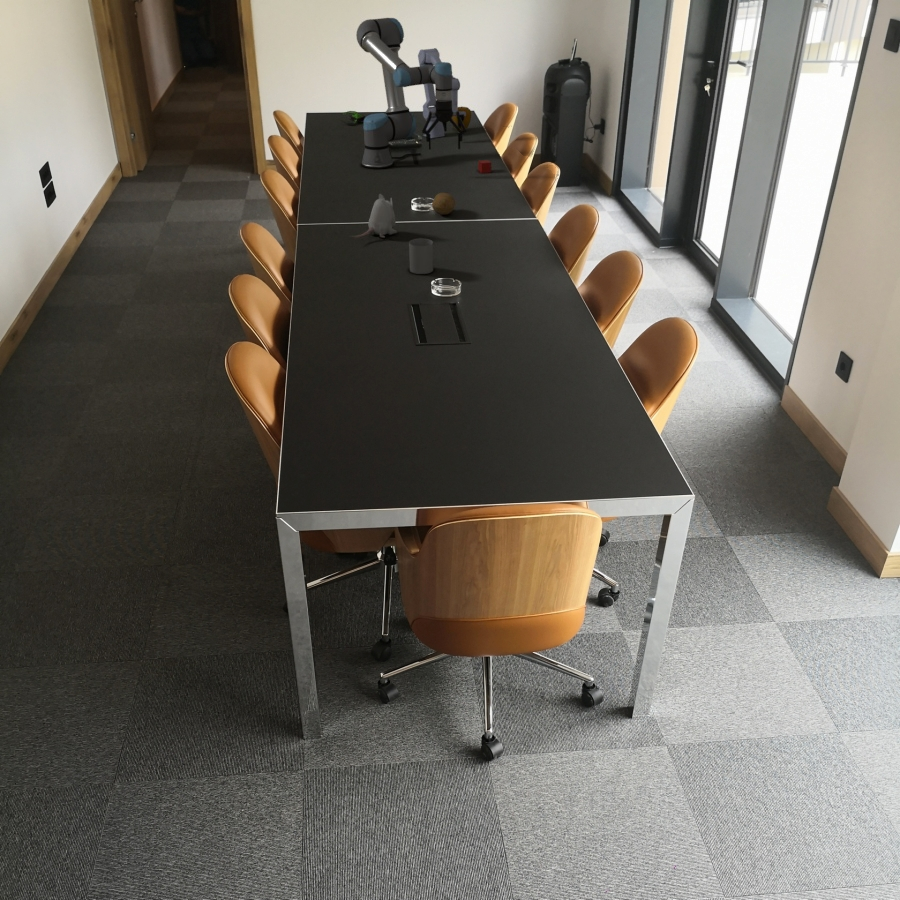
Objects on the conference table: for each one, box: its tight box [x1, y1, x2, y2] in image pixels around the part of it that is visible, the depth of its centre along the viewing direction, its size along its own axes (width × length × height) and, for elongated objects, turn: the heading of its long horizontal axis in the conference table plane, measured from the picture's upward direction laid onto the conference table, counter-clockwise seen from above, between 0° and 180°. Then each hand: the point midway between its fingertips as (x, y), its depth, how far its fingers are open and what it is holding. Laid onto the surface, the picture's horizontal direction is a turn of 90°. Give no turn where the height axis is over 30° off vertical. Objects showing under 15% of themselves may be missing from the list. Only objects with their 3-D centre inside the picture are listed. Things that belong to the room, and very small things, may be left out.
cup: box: [408, 237, 434, 275], centre depth 305 cm, size 8×8×10 cm
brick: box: [477, 159, 492, 174], centre depth 417 cm, size 5×5×5 cm
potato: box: [431, 192, 456, 216], centre depth 360 cm, size 10×14×8 cm
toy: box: [350, 193, 398, 239], centre depth 333 cm, size 9×24×15 cm, turn 137°
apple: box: [451, 105, 472, 132], centre depth 487 cm, size 11×11×13 cm
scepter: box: [341, 110, 366, 126], centre depth 505 cm, size 6×13×30 cm
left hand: (444, 148), depth 402 cm, fingers open, 13 cm apart
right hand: (452, 130), depth 463 cm, fingers open, 7 cm apart
